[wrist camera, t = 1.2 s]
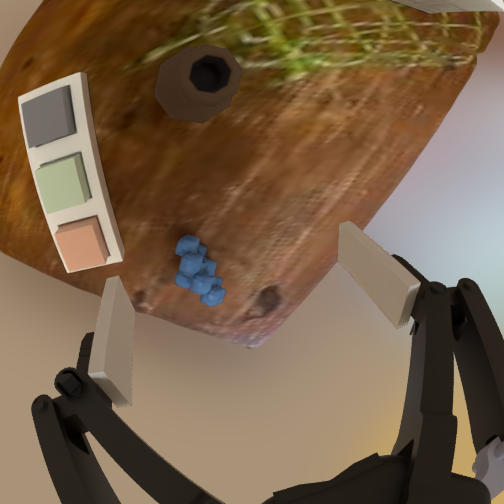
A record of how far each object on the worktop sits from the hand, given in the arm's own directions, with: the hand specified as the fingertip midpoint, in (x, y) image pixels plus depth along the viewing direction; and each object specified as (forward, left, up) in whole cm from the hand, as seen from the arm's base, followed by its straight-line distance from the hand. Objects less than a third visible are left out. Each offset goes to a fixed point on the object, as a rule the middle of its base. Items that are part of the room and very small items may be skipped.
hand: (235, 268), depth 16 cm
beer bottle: (-11, 0, -26) cm, 28 cm away
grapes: (+13, -3, -26) cm, 30 cm away
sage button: (-2, -18, -24) cm, 30 cm away
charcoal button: (-12, -18, -24) cm, 32 cm away
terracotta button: (+6, -18, -24) cm, 30 cm away
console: (-3, -18, -26) cm, 32 cm away
